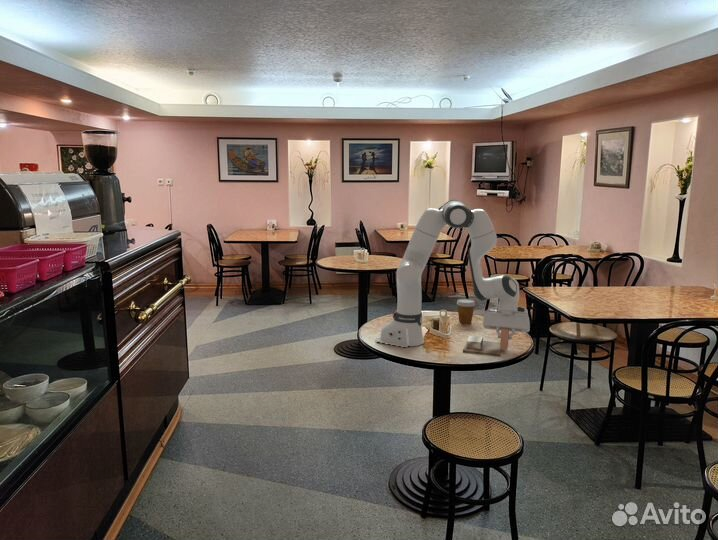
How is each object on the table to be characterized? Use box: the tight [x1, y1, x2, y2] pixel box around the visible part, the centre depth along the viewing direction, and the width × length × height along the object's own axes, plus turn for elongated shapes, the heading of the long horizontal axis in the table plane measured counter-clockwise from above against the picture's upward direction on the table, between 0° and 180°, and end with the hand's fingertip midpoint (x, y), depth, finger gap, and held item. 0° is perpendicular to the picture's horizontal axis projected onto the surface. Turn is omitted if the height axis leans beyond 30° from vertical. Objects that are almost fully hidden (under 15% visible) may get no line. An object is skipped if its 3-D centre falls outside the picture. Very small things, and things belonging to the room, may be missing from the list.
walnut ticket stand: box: [462, 335, 503, 357], centre depth 229 cm, size 16×16×4 cm
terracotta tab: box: [499, 329, 510, 351], centre depth 225 cm, size 3×5×8 cm, turn 160°
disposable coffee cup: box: [456, 298, 476, 325], centre depth 268 cm, size 10×10×12 cm
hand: (504, 338), depth 226 cm, fingers closed on terracotta tab, 3 cm apart
